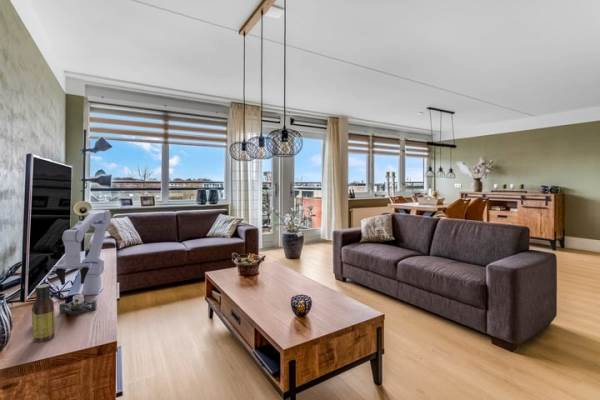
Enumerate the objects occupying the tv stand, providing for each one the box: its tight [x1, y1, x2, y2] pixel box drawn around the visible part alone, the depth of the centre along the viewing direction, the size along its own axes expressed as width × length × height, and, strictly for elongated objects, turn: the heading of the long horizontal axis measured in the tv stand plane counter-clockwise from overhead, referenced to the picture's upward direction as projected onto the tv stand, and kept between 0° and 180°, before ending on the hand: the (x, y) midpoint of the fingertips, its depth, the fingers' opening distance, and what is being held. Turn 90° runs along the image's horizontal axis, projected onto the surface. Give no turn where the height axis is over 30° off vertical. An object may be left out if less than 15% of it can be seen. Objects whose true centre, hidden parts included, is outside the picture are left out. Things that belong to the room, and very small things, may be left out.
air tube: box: [72, 293, 85, 311], centre depth 135 cm, size 4×4×7 cm
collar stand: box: [58, 298, 98, 316], centre depth 136 cm, size 8×14×4 cm, turn 109°
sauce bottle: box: [31, 283, 56, 343], centre depth 111 cm, size 7×6×20 cm
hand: (72, 283), depth 142 cm, fingers open, 7 cm apart
